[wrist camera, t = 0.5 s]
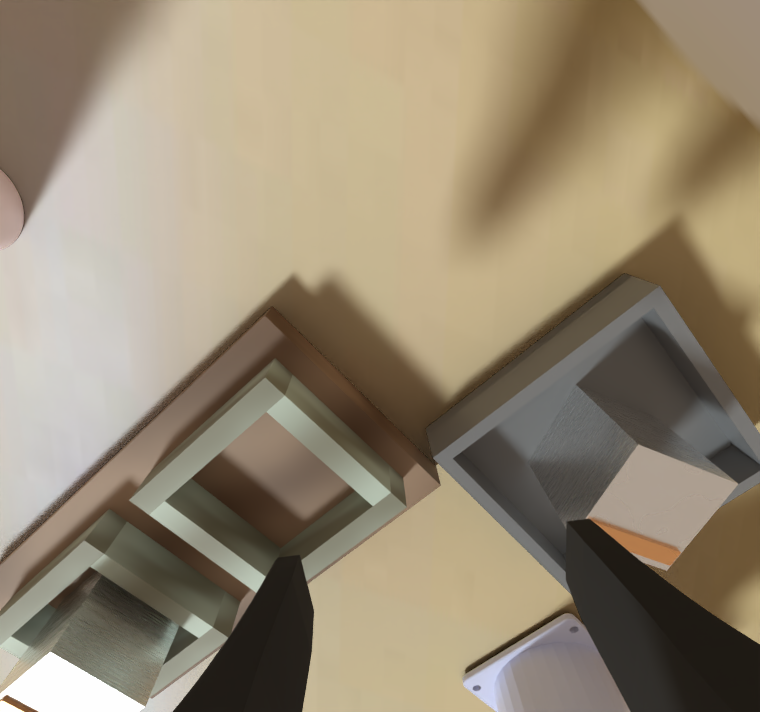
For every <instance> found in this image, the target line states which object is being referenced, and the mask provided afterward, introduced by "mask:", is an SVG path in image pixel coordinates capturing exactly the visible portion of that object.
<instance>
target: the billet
mask: <svg viewBox="0 0 760 712" xmlns="http://www.w3.org/2000/svg"><path fill="white" fill-rule="evenodd" d="M178 628H179V625H178V624H177V623H175V622H174V621H172V620H171V619H169V618H167V617H166V616H164V615H163V614H161V613H160V612H158V611H157V610H155V609H154V608H152V607H151V606H149V605H148V604H146V603H145V602H143V601H142V600H140V599H139V598H137V597H136V596H134V595H133V594H131V593H129V592H128V591H126V590H125V589H123V588H122V587H120V586H119V585H117V584H116V583H114V582H113V581H111V580H110V579H108V578H107V577H105V576H104V575H102V574H101V573H99V572H98V571H95V572H94V573H93V574H92V575H91V576H89V577H88V578H87V579H86V580H85V581H84V582H83V583H81V584H80V585H79V586H78V587H77V588H76V589H74V590H73V591H72V592H71V593H70V594H69V595H68V596H66V597H65V598H64V599H63V600H62V602H61V603H60V604H59V606H58V607H57V609H56V610H55V611H54V613H53V614H52V615H51V617H50V618H49V620H48V621H47V622H46V624H45V625H44V626H43V628H42V629H41V631H40V632H39V633H38V635H37V636H36V638H35V639H34V640H33V642H32V643H31V644H30V646H29V647H28V649H27V650H26V651H25V653H24V654H23V655H22V657H21V658H20V660H19V661H18V662H17V664H16V665H15V666H14V668H13V669H12V671H11V672H10V673H9V675H8V676H7V678H6V679H5V680H4V682H3V683H2V684H1V686H0V712H139V711H140V710H142V709H143V708H144V707H145V706H146V704H147V701H148V699H149V697H150V694H151V692H152V689H153V687H154V685H155V682H156V680H157V678H158V675H159V673H160V670H161V668H162V666H163V663H164V661H165V658H166V656H167V654H168V651H169V649H170V647H171V644H172V642H173V639H174V637H175V635H176V632H177V630H178Z"/></svg>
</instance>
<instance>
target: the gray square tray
mask: <svg viewBox="0 0 760 712" xmlns="http://www.w3.org/2000/svg"><path fill="white" fill-rule="evenodd" d="M575 385H578V386H581V387H583V388H585V389H588V390H590V391H593V392H595V393H598V394H600V395H603V396H605V397H607V398H610V399H612V400H615V401H617V402H620V403H622V404H625V405H627V406H630V407H632V408H634V409H637V410H639V411H642V412H644V413H647V414H649V415H652V416H654V417H656V418H658V419H659V420H660V421H661V422H663V423H664V424H665V425H666V426H668V427H669V428H670V429H671V430H673V431H674V432H675V433H676V434H677V435H679V436H680V437H681V438H682V439H684V440H685V441H686V442H687V443H689V444H690V445H691V446H692V447H694V448H695V449H696V450H697V451H699V452H700V453H701V454H702V455H703V456H705V457H706V458H707V459H708V460H710V461H711V462H712V463H713V464H715V465H716V466H717V467H718V468H720V469H721V470H722V471H723V472H725V473H726V474H727V475H728V476H729V477H731V478H732V479H733V480H734V481H736V482H737V483H738V485H737V487H736V488H735V489H734V490H733V491H732V493H731V494H730V495H729V496H728V497H727V499H726V500H725V501H724V502H723V503H722V505H721V506H720V507H722V506H723V505H725V504H726V503H728V502H730V501H731V500H733V499H734V498H736V497H738V496H739V495H741V494H743V493H744V492H746V491H747V490H749V489H751V488H752V487H754V486H755V485H757V484H759V483H760V433H759V432H758V430H757V429H756V428H755V426H754V425H753V423H752V422H751V420H750V419H749V417H748V416H747V414H746V413H745V411H744V410H743V408H742V407H741V405H740V404H739V402H738V401H737V399H736V398H735V396H734V395H733V393H732V392H731V390H730V389H729V387H728V386H727V384H726V383H725V382H724V380H723V379H722V377H721V376H720V374H719V373H718V371H717V370H716V368H715V367H714V365H713V364H712V362H711V361H710V359H709V358H708V356H707V355H706V353H705V352H704V350H703V349H702V347H701V346H700V344H699V343H698V341H697V340H696V339H695V337H694V336H693V334H692V333H691V331H690V330H689V328H688V327H687V325H686V324H685V322H684V321H683V319H682V318H681V316H680V315H679V313H678V312H677V310H676V309H675V307H674V306H673V304H672V303H671V301H670V300H669V298H668V297H667V296H666V294H665V293H664V291H663V290H662V288H661V287H660V286H659V285H656V284H654V283H651V282H648V281H645V280H642V279H639V278H636V277H634V276H631V275H628V274H625V273H624V274H623V275H621V276H620V277H619V278H618V279H616V280H615V281H614V282H612V283H611V284H610V285H609V286H607V287H606V288H605V289H603V290H602V291H601V292H600V293H598V294H597V295H596V296H595V297H593V298H592V299H591V300H589V301H588V302H587V303H586V304H584V305H583V306H582V307H580V308H579V309H578V310H577V311H575V312H574V313H573V314H571V315H570V316H569V317H568V318H566V319H565V320H564V321H562V322H561V323H560V324H559V325H557V326H556V327H555V328H554V329H552V330H551V331H550V332H548V333H547V334H546V335H545V336H543V337H542V338H541V339H539V340H538V341H537V342H536V343H534V344H533V345H532V346H530V347H529V348H528V349H527V350H525V351H524V352H523V353H522V354H520V355H519V356H518V357H516V358H515V359H514V360H513V361H511V362H510V363H509V364H507V365H506V366H505V367H504V368H502V369H501V370H500V371H498V372H497V373H496V374H495V375H493V376H492V377H491V378H489V379H488V380H487V381H486V382H484V383H483V384H482V385H481V386H479V387H478V388H477V389H475V390H474V391H473V392H472V393H470V394H469V395H468V396H466V397H465V398H464V399H463V400H461V401H460V402H459V403H457V404H456V405H455V406H454V407H452V408H451V409H450V410H449V411H447V412H446V413H445V414H443V415H442V416H441V417H440V418H438V419H437V420H436V421H434V422H433V423H432V424H431V425H429V426H428V427H427V428H426V432H427V436H428V440H429V444H430V448H431V453H432V457H433V459H434V460H435V461H436V462H437V463H438V464H439V465H440V466H441V467H442V468H443V469H444V470H445V471H447V472H448V473H449V474H450V475H451V476H452V477H453V478H454V479H455V480H456V481H457V482H458V483H459V484H460V485H461V486H462V487H463V488H464V489H465V490H466V491H467V492H468V493H469V494H470V495H471V496H472V497H473V498H474V499H475V500H476V501H477V502H478V503H479V504H480V505H481V506H482V507H483V508H484V509H485V510H486V511H487V512H488V513H489V514H490V515H491V516H492V517H493V518H494V519H495V520H496V521H497V522H498V523H499V524H500V525H501V526H502V527H503V528H504V529H505V530H506V531H507V532H508V533H509V534H510V535H511V536H512V537H514V538H515V539H516V540H517V541H518V542H519V543H520V544H521V545H522V546H523V547H524V548H525V549H526V550H527V551H528V552H529V553H530V554H531V555H532V556H533V557H534V558H535V559H536V560H537V561H538V562H539V563H540V564H541V565H542V566H543V567H544V568H545V569H546V570H547V571H548V572H549V573H550V574H551V575H552V576H553V577H554V578H555V579H556V580H557V581H558V582H559V583H560V584H561V585H562V586H563V587H564V588H565V589H566V590H567V591H568V592H569V593H570V594H571V592H570V589H569V587H568V584H567V582H566V528H565V526H564V524H563V523H562V521H561V519H560V517H559V516H558V514H557V512H556V510H555V509H554V507H553V505H552V504H551V502H550V500H549V498H548V497H547V495H546V493H545V491H544V490H543V488H542V486H541V485H540V483H539V481H538V479H537V478H536V476H535V474H534V473H533V471H532V469H531V467H530V466H529V464H528V461H529V459H530V457H531V456H532V454H533V453H534V451H535V449H536V448H537V446H538V445H539V443H540V441H541V440H542V438H543V437H544V435H545V433H546V432H547V430H548V429H549V427H550V425H551V424H552V422H553V421H554V419H555V417H556V416H557V414H558V413H559V411H560V409H561V408H562V406H563V405H564V403H565V401H566V400H567V398H568V397H569V395H570V393H571V392H572V390H573V389H574V387H575ZM720 507H719V508H720Z"/></svg>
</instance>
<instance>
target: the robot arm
mask: <svg viewBox="0 0 760 712" xmlns="http://www.w3.org/2000/svg"><path fill="white" fill-rule="evenodd" d="M566 582H567V584H568V587H569V589H570V592H571V595H572V597H573V600H574V602H575V605H576V607H577V610H578V612H579V614H580V617H581V619H582V621H583V623H584V625H585V626H584V625H583V624H582V623H581V622H580V621H579V620H578V619H577V618H576V617H575V616H574V615H573V614H569V613H566V614H563V615H561V616H559V617H558V618H556V619H554V620H553V621H551V622H549V623H548V624H546V625H545V626H543V627H541V628H540V629H538V630H536V631H535V632H533V633H531V634H530V635H528V636H527V637H525V638H523V639H522V640H520V641H518V642H517V643H515V644H514V645H512V646H510V647H509V648H507V649H505V650H504V651H502V652H501V653H499V654H497V655H496V656H494V657H492V658H491V659H489V660H487V661H486V662H484V663H483V664H481V665H479V666H478V667H476V668H474V669H473V670H471V671H470V672H468V673H466V674H465V675H464V676H463V678H462V679H463V685H464V686H465V688H467V689H468V690H469V691H471V692H472V693H473V694H474V695H476V696H477V697H478V698H479V699H481V700H482V701H483V702H485V703H486V704H487V705H488V706H490V707H491V708H492V709H493V710H495V711H496V712H760V644H758V643H756V642H755V641H753V640H752V639H750V638H749V637H747V636H745V635H744V634H742V633H741V632H739V631H737V630H736V629H734V628H733V627H731V626H730V625H728V624H726V623H725V622H723V621H722V620H720V619H719V618H717V617H716V616H714V615H713V614H711V613H710V612H708V611H707V610H705V609H704V608H703V607H701V606H700V605H698V604H697V603H696V602H694V601H693V600H691V599H690V598H689V597H687V596H686V595H684V594H683V593H682V592H680V591H679V590H678V589H676V588H675V587H674V586H672V585H671V584H670V583H668V582H667V581H666V580H664V579H663V578H662V577H661V576H659V575H658V574H657V573H655V572H654V571H653V570H652V569H650V568H649V567H648V566H646V565H645V564H644V563H643V562H641V561H640V560H639V559H638V558H637V557H635V556H634V555H633V554H632V553H630V552H629V551H628V550H627V549H626V548H624V547H623V546H622V545H621V544H620V543H618V542H617V541H616V540H615V539H614V538H612V537H611V536H610V535H609V534H608V533H606V532H605V531H604V530H603V529H602V528H600V527H599V526H598V525H597V524H596V523H594V522H593V521H592V520H591V519H581V520H573V521H567V523H566ZM313 618H314V609H313V605H312V601H311V597H310V593H309V589H308V585H307V581H306V577H305V573H304V569H303V565H302V561H301V557H300V555H294V556H286V557H278V558H277V559H276V560H275V561H274V563H273V565H272V567H271V569H270V570H269V572H268V574H267V576H266V577H265V579H264V581H263V583H262V584H261V586H260V588H259V589H258V591H257V593H256V594H255V596H254V598H253V599H252V601H251V603H250V604H249V606H248V608H247V609H246V611H245V612H244V614H243V616H242V617H241V619H240V620H239V622H238V623H237V625H236V627H235V628H234V630H233V631H232V633H231V634H230V636H229V637H228V639H227V640H226V642H225V643H224V644H223V646H222V647H221V649H220V650H219V652H218V653H217V655H216V656H215V657H214V659H213V660H212V662H211V663H210V665H209V666H208V667H207V669H206V670H205V671H204V673H203V674H202V675H201V677H200V678H199V679H198V681H197V682H196V683H195V685H194V686H193V687H192V688H191V690H190V691H189V692H188V693H187V695H186V696H185V697H184V698H183V700H182V701H181V702H180V703H179V705H178V706H177V707H176V708H175V710H174V711H173V712H302V709H303V703H304V696H305V690H306V684H307V678H308V672H309V665H310V659H311V652H312V637H313Z"/></svg>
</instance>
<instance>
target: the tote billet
mask: <svg viewBox="0 0 760 712" xmlns="http://www.w3.org/2000/svg"><path fill="white" fill-rule="evenodd" d="M528 464H529V466H530V467H531V469H532V471H533V473H534V474H535V476H536V478H537V479H538V481H539V483H540V485H541V486H542V488H543V490H544V491H545V493H546V495H547V497H548V498H549V500H550V502H551V504H552V505H553V507H554V509H555V510H556V512H557V514H558V516H559V517H560V519H561V521H562V523H563V524H564V526H565V528H566V523H567V521H573V520H581V519H591V520H592V521H593V522H594V523H596V524H597V525H598V526H599V527H600V528H602V529H603V530H604V531H605V532H606V533H608V534H609V535H610V536H611V537H612V538H614V539H615V540H616V541H617V542H618V543H620V544H621V545H622V546H623V547H624V548H626V549H627V550H628V551H629V552H630V553H632V554H633V555H634V556H635V557H637V558H638V559H639V560H640V561H641V562H643V563H646V564H648V565H651V566H654V567H657V568H660V569H663V570H666V571H667V570H668V569H669V568H670V566H671V565H672V564H673V563H674V562H675V560H676V559H677V558H678V557H679V555H680V554H681V553H682V552H683V551H684V549H685V548H686V547H687V546H688V545H689V543H690V542H691V541H692V540H693V539H694V537H695V536H696V535H697V534H698V533H699V531H700V530H701V529H702V528H703V526H704V525H705V524H706V523H707V522H708V520H709V519H710V518H711V517H712V516H713V514H714V513H715V512H716V511H717V510H718V508H719V507H720V506H721V505H722V503H723V502H724V501H725V500H726V499H727V497H728V496H729V495H730V494H731V493H732V491H733V490H734V489H735V488H736V487H737V485H738V483H737V482H736V481H734V480H733V479H732V478H731V477H729V476H728V475H727V474H726V473H725V472H723V471H722V470H721V469H720V468H718V467H717V466H716V465H715V464H713V463H712V462H711V461H710V460H708V459H707V458H706V457H705V456H703V455H702V454H701V453H700V452H699V451H697V450H696V449H695V448H694V447H692V446H691V445H690V444H689V443H687V442H686V441H685V440H684V439H682V438H681V437H680V436H679V435H677V434H676V433H675V432H674V431H673V430H671V429H670V428H669V427H668V426H666V425H665V424H664V423H663V422H661V421H660V420H659V419H658V418H656V417H654V416H652V415H649V414H647V413H644V412H642V411H639V410H637V409H634V408H632V407H630V406H627V405H625V404H622V403H620V402H617V401H615V400H612V399H610V398H607V397H605V396H603V395H600V394H598V393H595V392H593V391H590V390H588V389H585V388H583V387H581V386H578V385H575V387H574V389H573V390H572V392H571V393H570V395H569V397H568V398H567V400H566V401H565V403H564V405H563V406H562V408H561V409H560V411H559V413H558V414H557V416H556V417H555V419H554V421H553V422H552V424H551V425H550V427H549V429H548V430H547V432H546V433H545V435H544V437H543V438H542V440H541V441H540V443H539V445H538V446H537V448H536V449H535V451H534V453H533V454H532V456H531V457H530V459H529V461H528Z"/></svg>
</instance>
